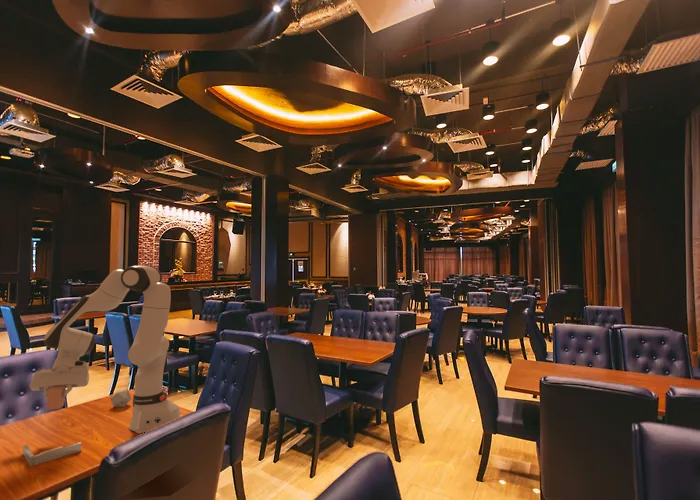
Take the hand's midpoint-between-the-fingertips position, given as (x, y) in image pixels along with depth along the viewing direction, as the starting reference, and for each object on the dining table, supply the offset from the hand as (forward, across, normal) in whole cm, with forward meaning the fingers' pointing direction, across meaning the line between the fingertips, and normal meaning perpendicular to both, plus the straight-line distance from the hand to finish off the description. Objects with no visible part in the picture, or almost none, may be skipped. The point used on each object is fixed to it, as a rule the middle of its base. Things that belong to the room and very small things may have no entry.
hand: (55, 397), depth 154 cm
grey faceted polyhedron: (-10, +18, +34) cm, 40 cm away
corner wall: (+23, +5, 0) cm, 23 cm away
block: (+3, 0, +4) cm, 4 cm away
